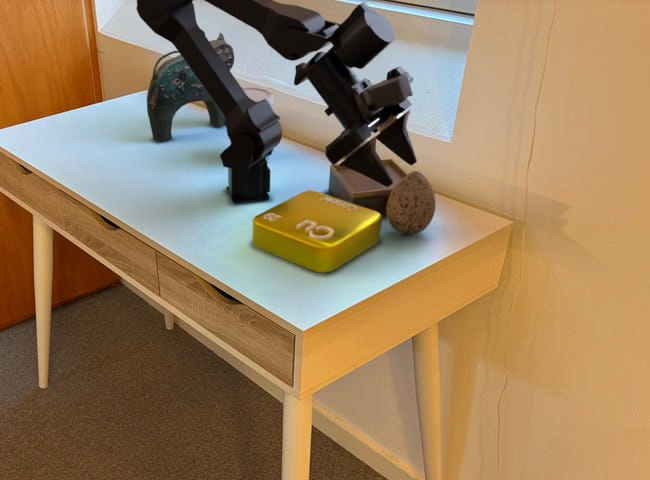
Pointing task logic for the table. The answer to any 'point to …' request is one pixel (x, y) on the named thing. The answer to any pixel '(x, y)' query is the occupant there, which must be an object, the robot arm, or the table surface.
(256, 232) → the element tile
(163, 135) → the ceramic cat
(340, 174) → the shallow square tray
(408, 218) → the decorative egg
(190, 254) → the table surface
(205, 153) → the table surface
